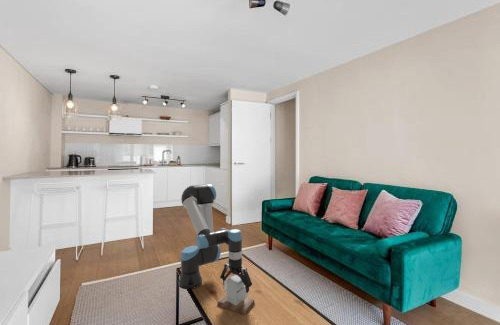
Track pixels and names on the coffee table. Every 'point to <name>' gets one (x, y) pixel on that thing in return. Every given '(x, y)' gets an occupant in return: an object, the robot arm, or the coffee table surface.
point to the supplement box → (235, 290)
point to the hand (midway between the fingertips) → (235, 294)
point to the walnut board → (240, 308)
